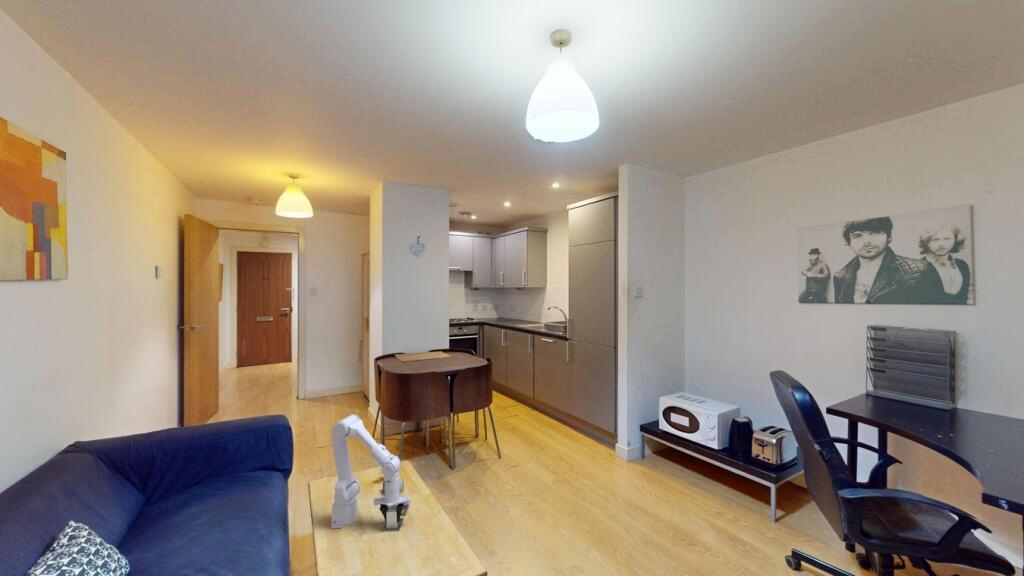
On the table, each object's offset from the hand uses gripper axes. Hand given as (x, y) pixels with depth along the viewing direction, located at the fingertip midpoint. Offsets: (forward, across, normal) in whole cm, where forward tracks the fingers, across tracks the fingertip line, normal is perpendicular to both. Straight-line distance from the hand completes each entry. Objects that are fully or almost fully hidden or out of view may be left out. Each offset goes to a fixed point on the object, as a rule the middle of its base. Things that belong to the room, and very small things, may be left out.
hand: (392, 521), depth 161 cm
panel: (+3, 0, +5) cm, 6 cm away
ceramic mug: (+3, -8, +27) cm, 28 cm away
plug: (+2, 0, 0) cm, 2 cm away
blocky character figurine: (+3, -12, +38) cm, 40 cm away
